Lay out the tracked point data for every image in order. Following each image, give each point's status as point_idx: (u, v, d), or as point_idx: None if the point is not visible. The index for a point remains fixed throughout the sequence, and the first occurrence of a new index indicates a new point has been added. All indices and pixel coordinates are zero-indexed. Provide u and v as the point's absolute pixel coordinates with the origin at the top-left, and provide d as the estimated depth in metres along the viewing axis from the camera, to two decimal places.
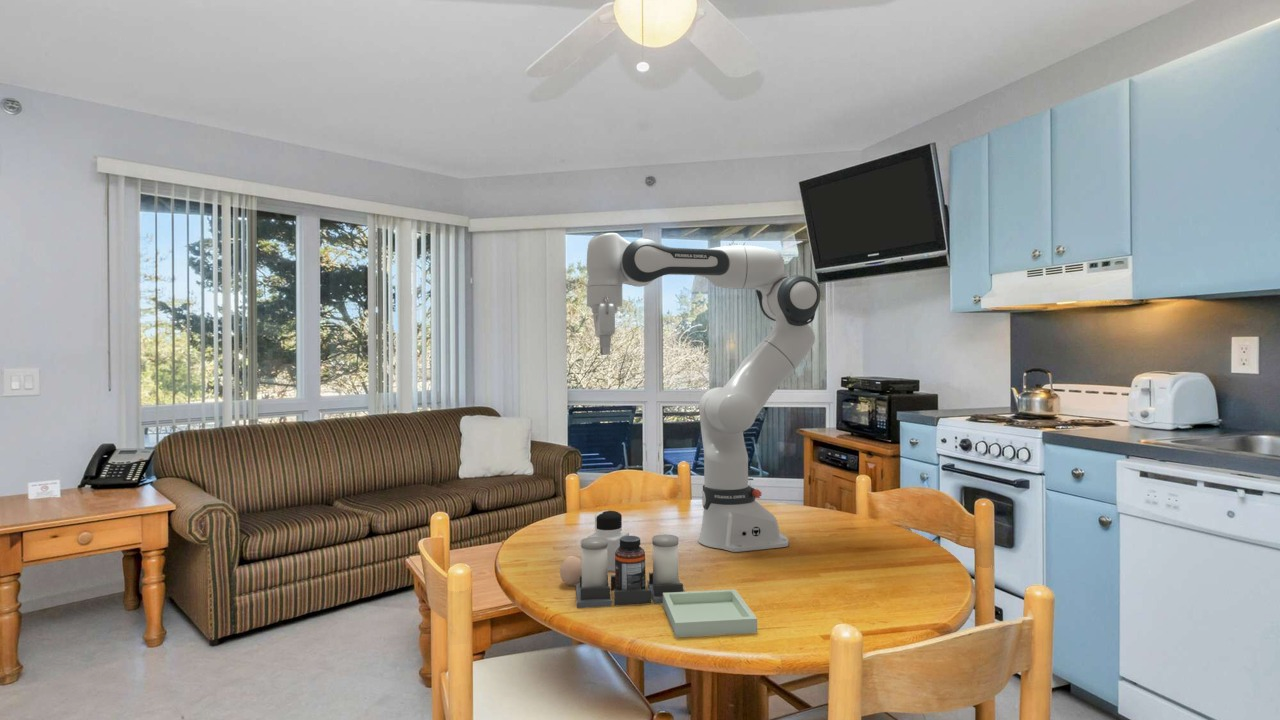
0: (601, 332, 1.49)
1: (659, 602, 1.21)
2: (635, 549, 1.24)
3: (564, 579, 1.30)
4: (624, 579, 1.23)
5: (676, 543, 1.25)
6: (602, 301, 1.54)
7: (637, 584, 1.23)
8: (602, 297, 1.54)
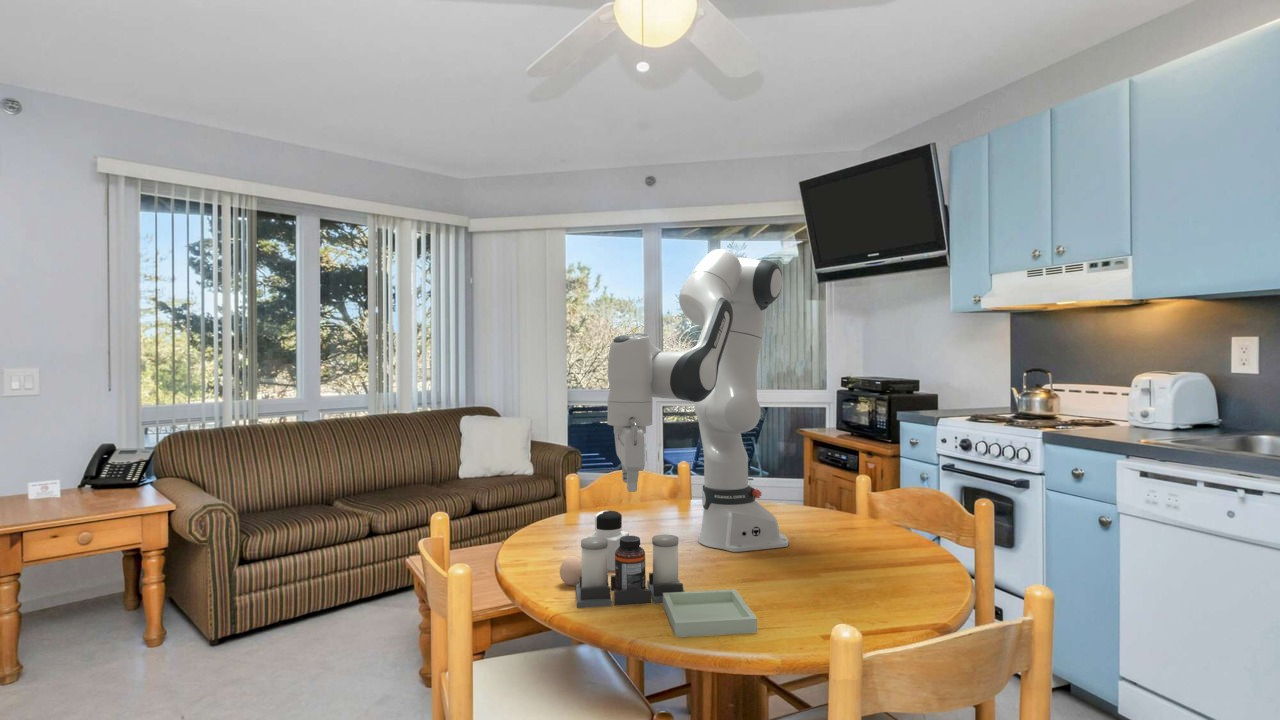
0: (627, 468, 1.16)
1: (659, 602, 1.21)
2: (635, 549, 1.24)
3: (564, 579, 1.30)
4: (624, 579, 1.23)
5: (676, 543, 1.25)
6: (628, 423, 1.21)
7: (637, 584, 1.23)
8: (628, 418, 1.21)
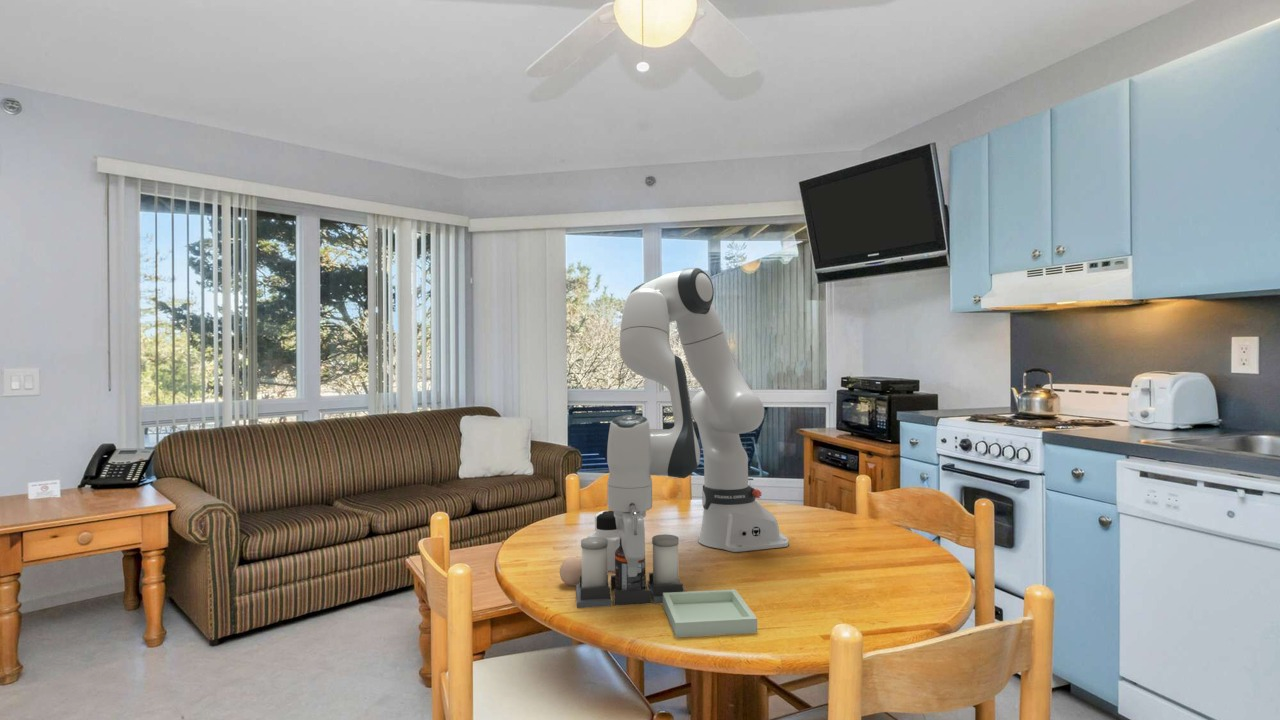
0: (628, 558, 1.16)
1: (659, 602, 1.21)
2: None
3: (564, 579, 1.30)
4: (624, 579, 1.23)
5: (676, 543, 1.25)
6: (628, 509, 1.21)
7: (637, 584, 1.23)
8: (628, 503, 1.21)
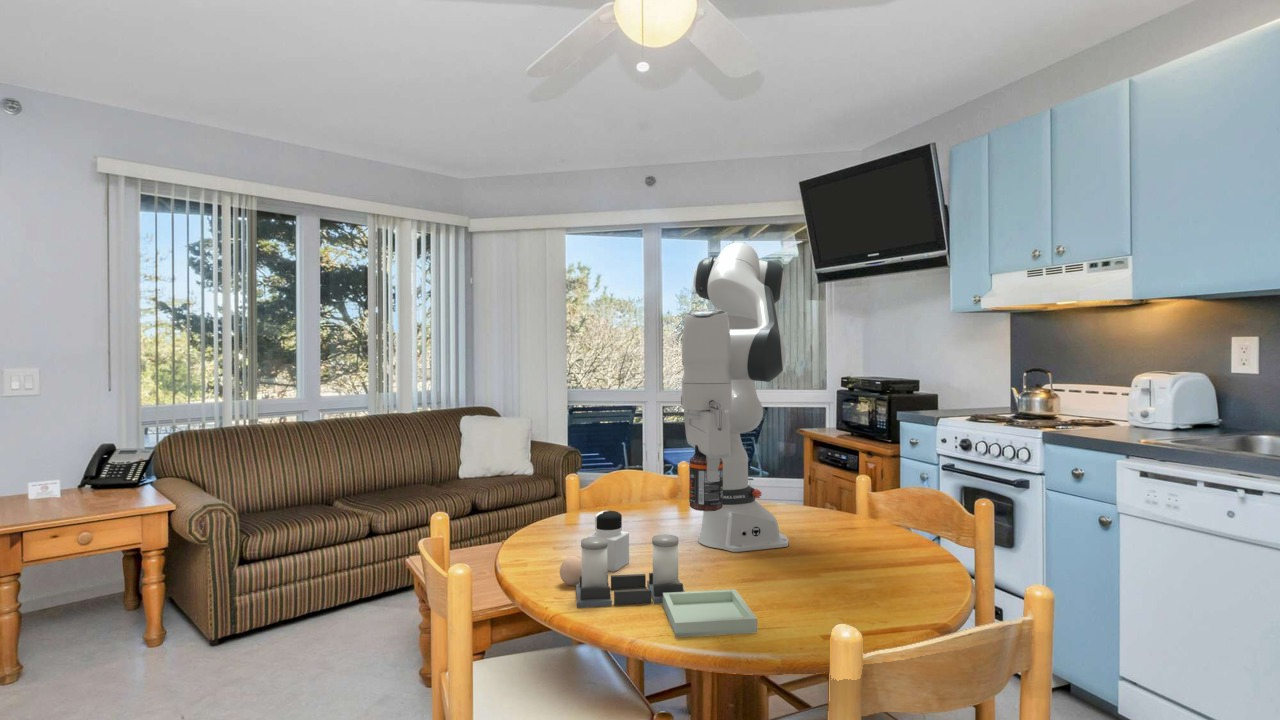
0: (711, 456, 1.05)
1: (659, 602, 1.21)
2: None
3: (564, 579, 1.30)
4: (701, 488, 1.12)
5: (676, 543, 1.25)
6: (707, 406, 1.10)
7: (715, 493, 1.12)
8: (707, 401, 1.10)
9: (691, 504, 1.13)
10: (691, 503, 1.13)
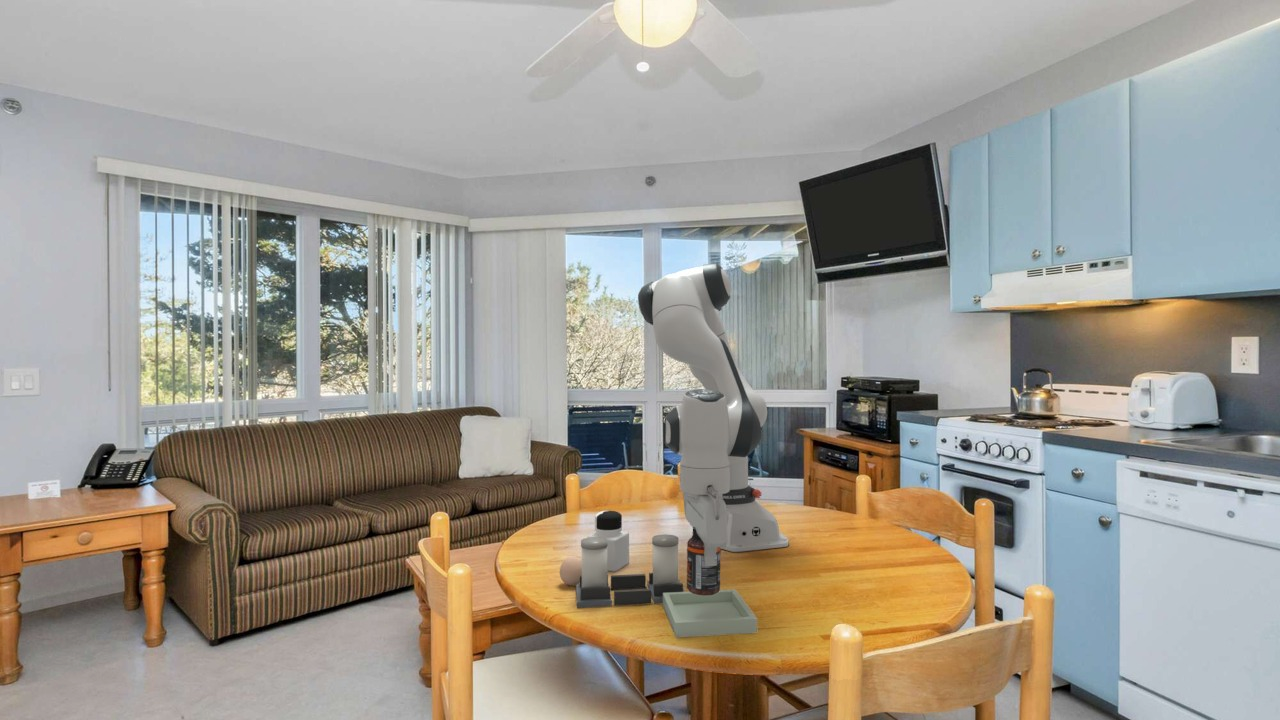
0: (708, 545, 1.05)
1: (659, 602, 1.21)
2: None
3: (564, 579, 1.30)
4: (698, 572, 1.12)
5: (676, 543, 1.25)
6: (705, 491, 1.10)
7: (712, 578, 1.12)
8: (705, 486, 1.10)
9: (688, 587, 1.13)
10: (688, 586, 1.13)
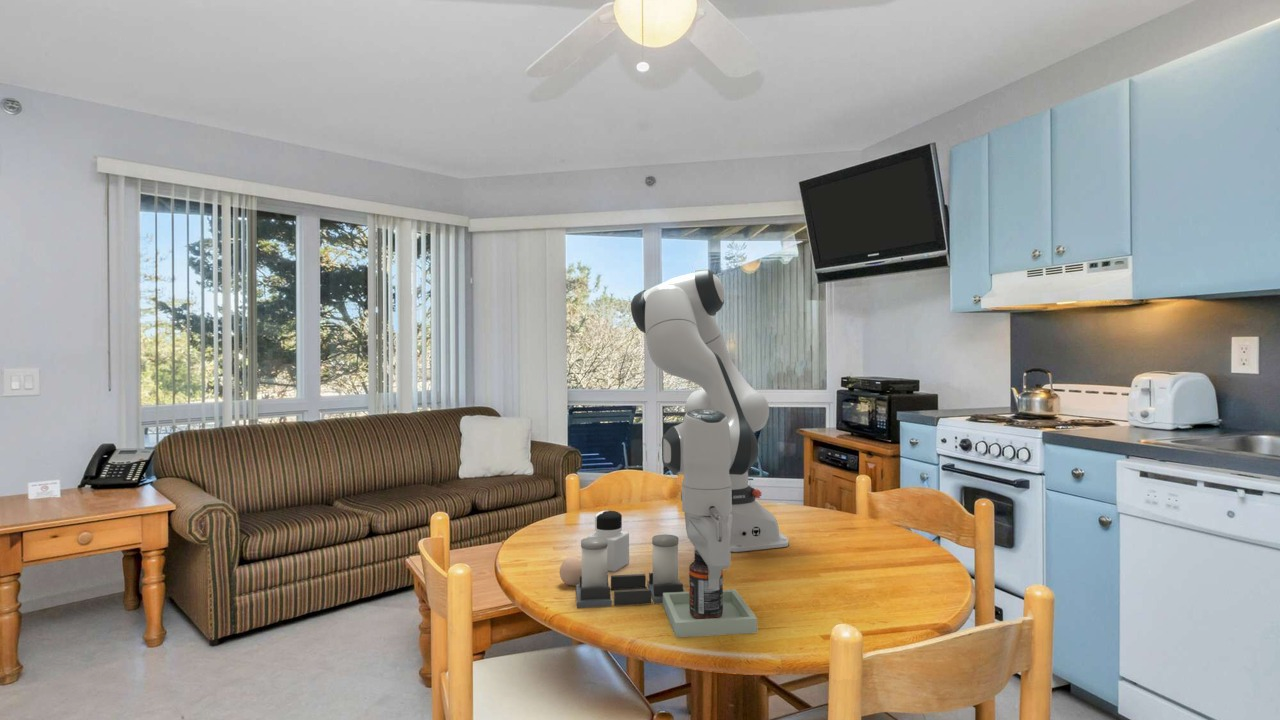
0: (711, 567, 1.05)
1: (659, 602, 1.21)
2: None
3: (564, 579, 1.30)
4: (701, 597, 1.12)
5: (676, 543, 1.25)
6: (707, 512, 1.10)
7: (715, 603, 1.12)
8: (707, 506, 1.10)
9: (691, 612, 1.13)
10: (691, 611, 1.13)
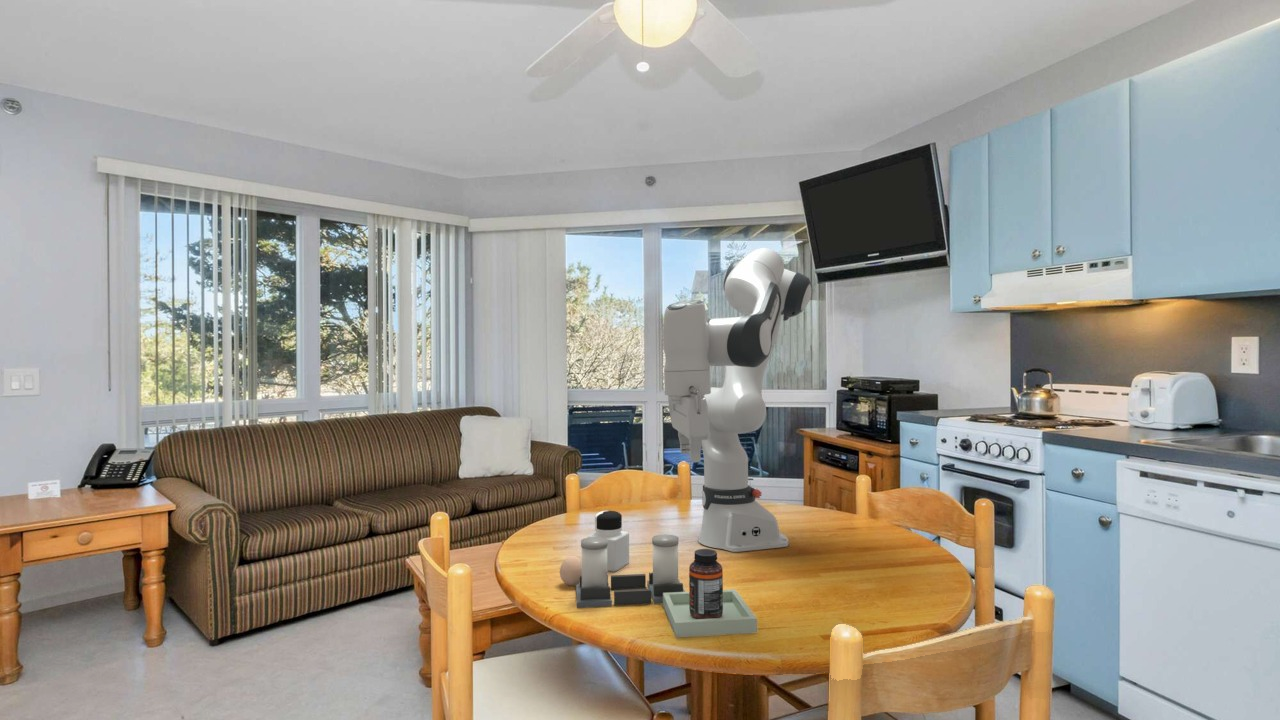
0: (691, 438, 1.13)
1: (659, 602, 1.21)
2: (712, 564, 1.13)
3: (564, 579, 1.30)
4: (701, 597, 1.12)
5: (676, 543, 1.25)
6: (687, 392, 1.18)
7: (715, 603, 1.12)
8: (687, 387, 1.18)
9: (691, 612, 1.13)
10: (691, 611, 1.13)
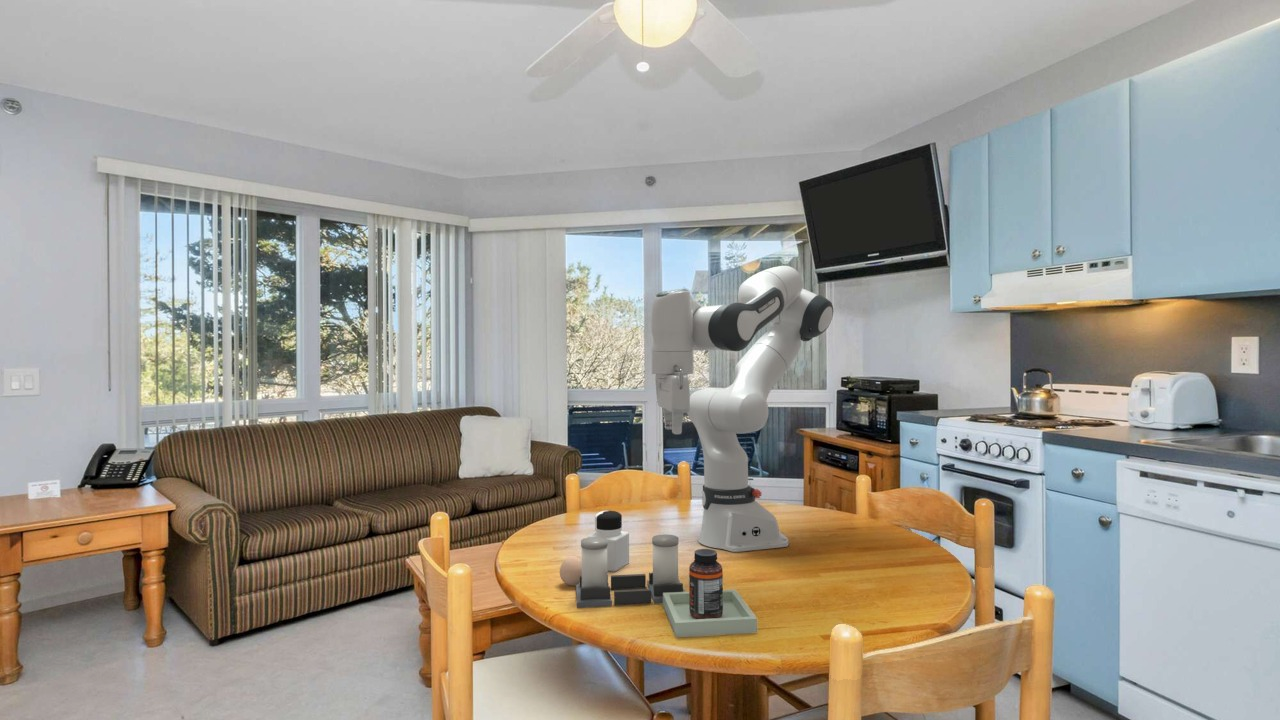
0: (674, 410, 1.25)
1: (659, 602, 1.21)
2: (712, 564, 1.13)
3: (564, 579, 1.30)
4: (701, 597, 1.12)
5: (676, 543, 1.25)
6: (672, 370, 1.31)
7: (715, 603, 1.12)
8: (672, 366, 1.31)
9: (691, 612, 1.13)
10: (691, 611, 1.13)
